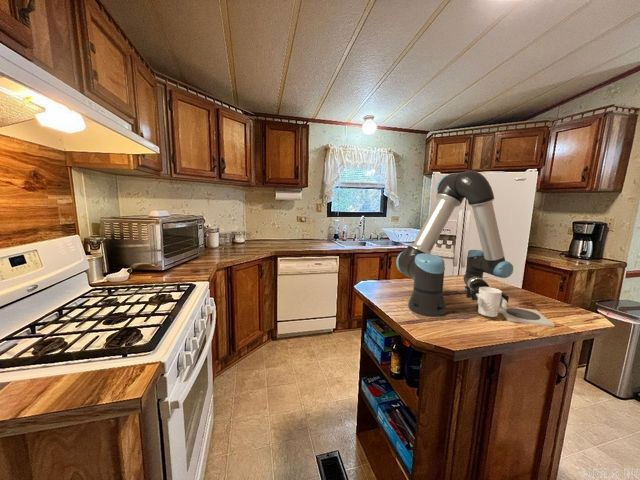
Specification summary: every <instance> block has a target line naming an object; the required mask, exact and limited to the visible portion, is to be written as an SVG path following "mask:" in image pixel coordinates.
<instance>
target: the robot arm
mask: <svg viewBox="0 0 640 480" xmlns="http://www.w3.org/2000/svg"><path fill="white" fill-rule="evenodd" d="M435 197H436V202H435V203H434V205H433V207H432V209H431V211H430V212H429V213H428V216H427V218H426V220H425V221H424V223H423V226H421V227H422V228H421V229H420V231H419V232H418V234H417V237H416V238H415V239H414V241H413V243H412V244H409V245H408V246H407V248H406V249H405V250H404V251H402V252H400V253H399V254H398V255H397V256H396V257H397V258H396V260H395V261H396V262H395V263H396V264H395V266H396V268H397V270H398V271H399V272H400V274H401V273H402V275H404V276H406V277H408V278H409V279H412V280H413V290H412V292H411V294H410V297H409V299H408V304H407V305H408V306H407V307H409V308H408V309H409V310H410V311H411V310H412V311H411V312H413V313H416V314H418V315H423V316H426V317H427V316H428V317H441V316H444V315H445V314H446V313H447V306H446V303H445V302H446V301H445V299H444V295H443V291H444V280H445V279H444V278H445V271H446V268H445V267H446V266H445V265H446V264H445V260H444V259H443V258H442V257H441V256H438V255H436V254H432V253H431V252H432V250H433V248H434V246H435V245H436V243H437V240H438V239H439V238H440V235H441V234H442V232H443V230H444V228H445V226H446V224H447V222H448V221H449V220H450V217H451V216H452V214H453V212H454V210H455V208H457V207H460V206H461V205H462V203H463V201H464V199H466V200H467V203H468V206H469V207H470V206H471V209H472V212H473V217H474V220H475V225H476V229H477V234H478V236H479V237H478V238H479V242H480V245H481V249H470V250H468V252H467V255H466V266H465V268H466V269H465V274H464V275H463V277H462V278H463V282H464V284H465V285H464V293H465V294H466V298H468V299H471V301H473V302H475V301H476V303H477V305H478V304H479V305H482V298H481V297H480V295H479V287H490V286H489V284H488V283H487V282H486V281H485V280H484V279H483V278H484V277H483V276H484V273H485V274H488V275H491V276H494V277H496V278H502V279H507V278H509V277H510V276H512V274H513V273H514V266H513V264H512V263H511V262H509V261H508V260H506V258H505V253H504V248H503V243H502V240H501V235H500V232H499V226H498V223H497V222H498V221H497V218H496V213H495V208H494V205H493V201H494V200H495V195H494V192H493V189H492V186H491V184H490V183H489V180H487V178H486V177H485V175H483V174H482V173H480V172H478V171H475V170H466V171H462V172H461V171H459V172H453V173H449V174H446V175H444V176H442V177H441V178H440V179H439V181H438V182H437V185H436V195H435ZM509 300H510V296H509V295H507V294H506V293H504V292H502V296H501V302H500V306H502V307H503V308H506V307H508V303H509Z"/></svg>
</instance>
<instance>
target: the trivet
mask: <svg viewBox="0 0 640 480" xmlns="http://www.w3.org/2000/svg"><path fill="white" fill-rule="evenodd" d="M498 313H500V314H501V315H502V317H504V318H505V320H506V321H507V322H512V323H513V322H515V323H521V324H531V325H536V326H537V325H538V326H546V327H555V324H554V323H553V322H552V321H551V320H550V319H548V318H547V317H546V316H544V315H543V314H542V313H540V311H538V310H537V309H533V308H532V309H531V308H521V307H513V306H507V307H506V308H503V307H502V306H501V305H500V307H499V311H498Z"/></svg>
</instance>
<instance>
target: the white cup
mask: <svg viewBox="0 0 640 480" xmlns="http://www.w3.org/2000/svg"><path fill="white" fill-rule="evenodd" d="M502 293H503V291H502V290H501V289H498V288H495V287H490V286H489V287H479V295H480V297H481V298H482V305H479V304H478V303H477V306H478V307H477V312H478V313H479V314H481V315H482V316H485V317H492V318H496V317H498V316H499V307H500V306H501V304H500V302H501V296H502Z"/></svg>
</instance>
